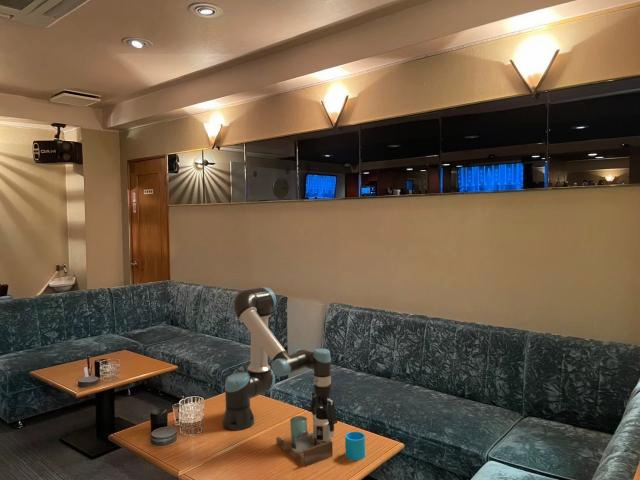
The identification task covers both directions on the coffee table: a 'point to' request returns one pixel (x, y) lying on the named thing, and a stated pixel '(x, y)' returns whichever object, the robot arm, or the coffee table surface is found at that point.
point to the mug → (355, 445)
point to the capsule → (297, 427)
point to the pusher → (304, 441)
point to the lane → (308, 451)
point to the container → (321, 425)
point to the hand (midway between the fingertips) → (323, 433)
